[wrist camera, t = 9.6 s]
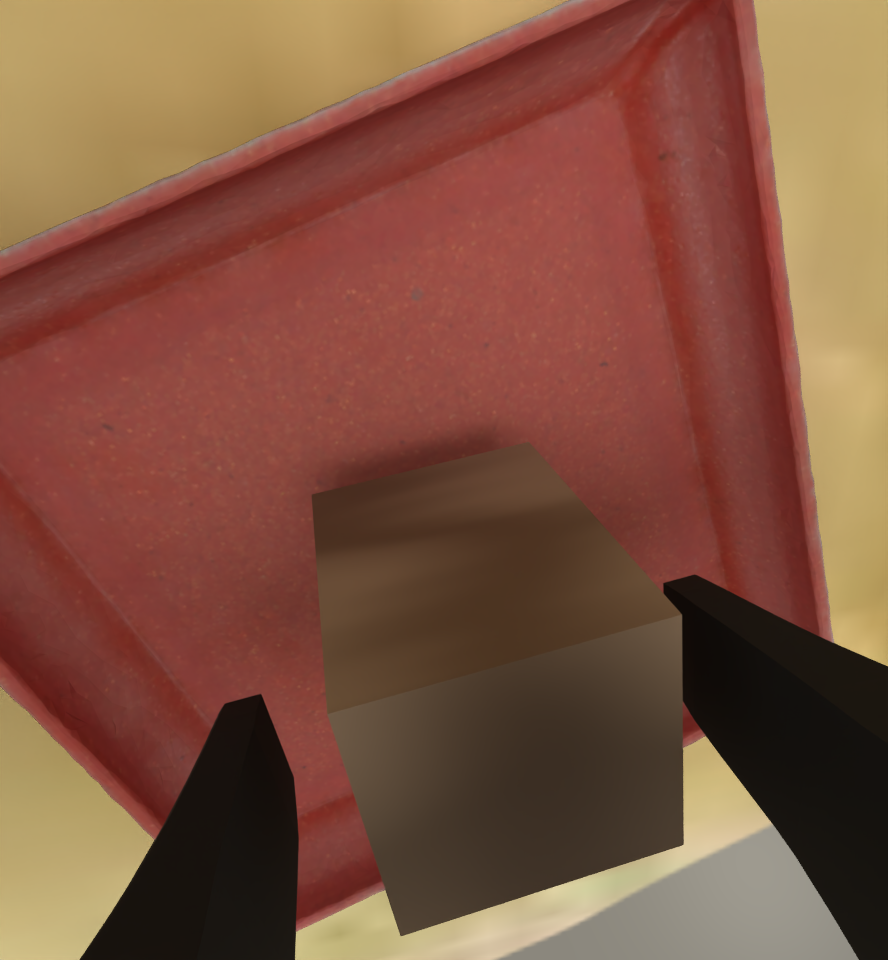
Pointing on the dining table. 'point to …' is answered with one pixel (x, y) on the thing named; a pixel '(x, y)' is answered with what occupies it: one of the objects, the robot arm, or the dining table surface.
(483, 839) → the walnut block
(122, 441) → the plant saucer
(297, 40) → the dining table surface
